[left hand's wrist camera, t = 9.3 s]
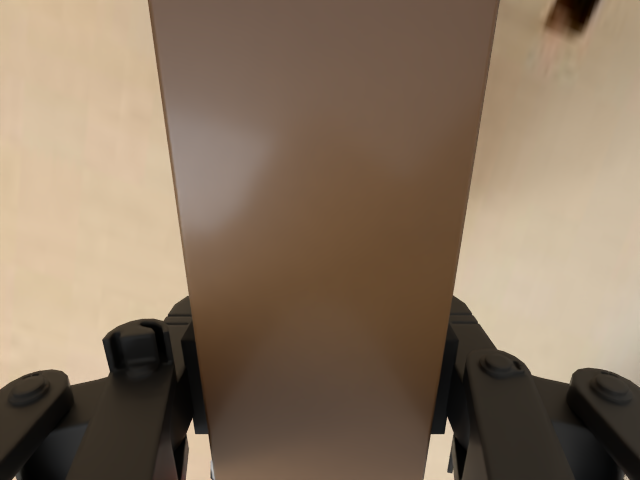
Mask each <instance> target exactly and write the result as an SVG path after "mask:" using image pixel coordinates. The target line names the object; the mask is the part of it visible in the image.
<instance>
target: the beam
mask: <svg viewBox="0 0 640 480" xmlns="http://www.w3.org/2000/svg"><path fill="white" fill-rule="evenodd" d="M499 1H500V0H148V5H149V12H150V19H151V26H152V33H153V41H154V48H155V55H156V62H157V69H158V76H159V84H160V91H161V98H162V105H163V112H164V119H165V127H166V134H167V141H168V148H169V155H170V162H171V170H172V177H173V184H174V191H175V198H176V205H177V213H178V220H179V227H180V234H181V241H182V248H183V256H184V263H185V270H186V277H187V284H188V291H189V299H190V306H191V313H192V320H193V327H194V334H195V342H196V349H197V356H198V363H199V370H200V377H201V385H202V392H203V399H204V406H205V413H206V420H207V428H208V435H209V442H210V449H211V456H212V463H213V471H214V478H215V480H423V479H424V473H425V467H426V460H427V454H428V448H429V442H430V435H431V429H432V423H433V416H434V410H435V404H436V397H437V391H438V385H439V379H440V372H441V366H442V360H443V353H444V347H445V341H446V335H447V328H448V322H449V316H450V309H451V303H452V297H453V290H454V284H455V278H456V272H457V265H458V259H459V253H460V246H461V240H462V234H463V228H464V221H465V215H466V209H467V202H468V196H469V190H470V183H471V177H472V171H473V165H474V158H475V152H476V146H477V139H478V133H479V127H480V121H481V114H482V108H483V102H484V95H485V89H486V83H487V76H488V70H489V64H490V58H491V51H492V45H493V39H494V32H495V26H496V20H497V14H498V7H499Z"/></svg>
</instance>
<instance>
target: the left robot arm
mask: <svg viewBox="0 0 640 480" xmlns="http://www.w3.org/2000/svg"><path fill="white" fill-rule="evenodd" d="M102 341H103V345H104V349H105V353H106V357H107V361H108V365H109V369H110V373H109V376H108V377H106V378H102V379H99V380H94V381H89V382H85V383H80V384H75V385H71V386H70V382H69V379H68V376H67V375H66V374H65V373H64V372H62V371H58V370H43V371H37V372H33V373H30V374H27V375H24V376H22V377H20V378H18V379H16V380H14V381H12V382H10V383H9V384H7V385H6V386H4V387H3V388H2V389H0V480H12V479H13V478H14V477H15V476H16V479H17V480H186V471H187V462H188V452H189V447H188V441H187V435H186V433H187V430H188V428H189V425H190V423H191V420H192V418H193V422H194V429H195V434H208V428H207V420H206V413H205V406H204V399H203V392H202V385H201V377H200V370H199V363H198V356H197V349H196V342H195V334H194V327H193V320H192V313H191V306H190V299H189V296H187V297H185V298H184V299H182V300H181V301H180V302H178V303H177V304H175V305H174V307H173V308H172V310H171V311H170V312H169V314H168V317H166V318H165V320H164V321H161V320H157V319H140V320H135V321H130V322H128V323H125V324H123V325H120V326H118V327H116V328H115V329H113V330H112V331H110V332H109V333H108V334H107V335H106V336H105V337H104V338H103V340H102ZM447 417H448V419H449V422H450V424H451V427H452V429H453V432H454V435H453V441H452V446H451V452H450V458H449V464H448V471H447V472H448V473H452V472H453V470H454V480H624V479H623V478H624V475H625V474H626V476H627V477H628V478H629V479H630V480H640V387H638V386H637V385H635V384H634V383H633V382H631V381H630V380H628V379H626V378H624V377H621V376H619V375H618V374H615V373H613V372H608V371H606V370H602V369H594V368H584V369H578V370H577V371H576V372H574V373H573V374H572V378H571V381H570V384H567V383H563V382H558V381H553V380H549V379H544V378H540V377H536V376H533V375H531V372H530V371H529V369H528V368H527V366H526V365H525V364H524V363H523V362H522V361H520V360H519V359H518V358H516V357H515V356H513V355H511V354H509V353H506V352H504V351H500V350H497V349H496V347H495V346H494V344H493V343H492V341H491V340H490V339H489V337H488V336H487V334H486V333H485V331H484V330H483V329H482V327H481V326H480V324H478V321H477V320H476V319H475V317H474V316H473V315H472V313H471V311H470V310H469V309H468V307H467V306H466V304H465V303H464V302H462V301H461V300H459V299H458V298H456V297H455V296H453V297H452V303H451V309H450V316H449V322H448V328H447V335H446V341H445V347H444V353H443V360H442V366H441V372H440V379H439V385H438V391H437V397H436V404H435V410H434V416H433V423H432V429H431V434H444V433H445V427H446V420H447Z"/></svg>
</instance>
